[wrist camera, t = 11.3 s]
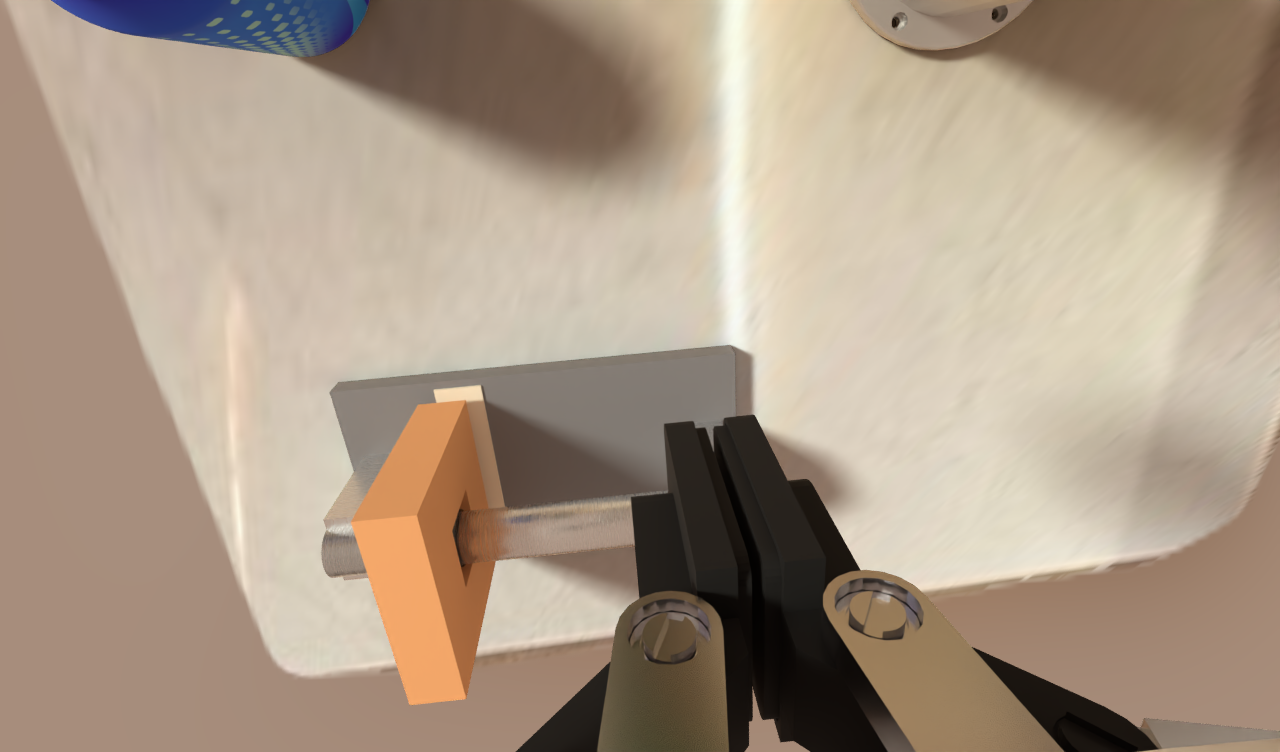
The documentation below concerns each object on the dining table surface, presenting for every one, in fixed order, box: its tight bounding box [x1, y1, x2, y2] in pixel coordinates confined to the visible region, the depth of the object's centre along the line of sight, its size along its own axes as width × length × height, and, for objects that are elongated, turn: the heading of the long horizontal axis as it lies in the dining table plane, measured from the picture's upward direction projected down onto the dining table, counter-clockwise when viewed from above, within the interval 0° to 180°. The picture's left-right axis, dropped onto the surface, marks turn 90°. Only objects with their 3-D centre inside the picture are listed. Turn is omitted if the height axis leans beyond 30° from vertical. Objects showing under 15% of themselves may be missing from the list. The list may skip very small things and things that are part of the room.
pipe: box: [322, 420, 723, 580], centre depth 39 cm, size 24×4×9 cm, turn 94°
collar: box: [351, 400, 496, 705], centre depth 37 cm, size 3×12×12 cm, turn 4°
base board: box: [330, 345, 736, 509], centre depth 44 cm, size 26×14×2 cm, turn 94°
